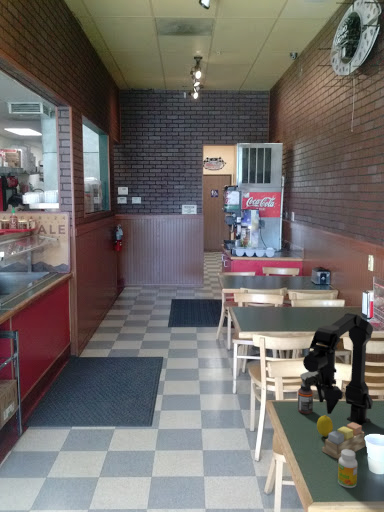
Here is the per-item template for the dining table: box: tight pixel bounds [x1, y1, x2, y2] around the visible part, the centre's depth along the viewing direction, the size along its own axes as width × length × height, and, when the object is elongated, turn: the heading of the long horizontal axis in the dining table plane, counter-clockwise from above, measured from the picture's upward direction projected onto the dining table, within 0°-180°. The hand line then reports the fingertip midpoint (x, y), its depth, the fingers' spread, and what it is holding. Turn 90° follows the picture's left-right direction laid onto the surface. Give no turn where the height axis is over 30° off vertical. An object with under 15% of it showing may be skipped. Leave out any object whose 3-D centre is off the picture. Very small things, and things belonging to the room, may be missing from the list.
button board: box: [321, 430, 366, 461], centre depth 161 cm, size 16×7×4 cm, turn 128°
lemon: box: [316, 414, 334, 438], centre depth 169 cm, size 6×6×8 cm
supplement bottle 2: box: [337, 449, 358, 489], centre depth 141 cm, size 5×5×10 cm
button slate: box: [327, 430, 344, 445], centre depth 158 cm, size 4×4×4 cm
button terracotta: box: [346, 421, 363, 436], centre depth 164 cm, size 4×4×4 cm
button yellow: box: [337, 425, 353, 440], centre depth 161 cm, size 4×4×4 cm
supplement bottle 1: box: [297, 382, 314, 415], centre depth 190 cm, size 6×6×11 cm
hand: (325, 407), depth 163 cm, fingers open, 9 cm apart
